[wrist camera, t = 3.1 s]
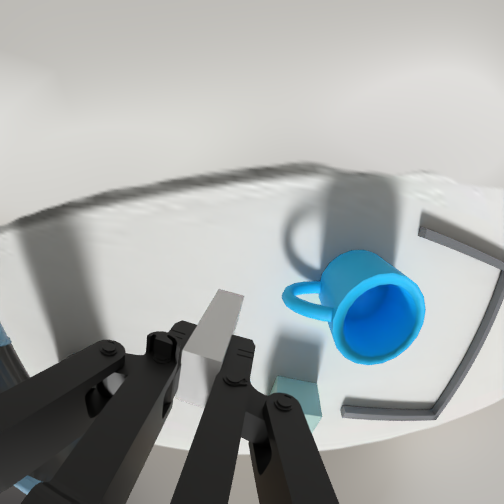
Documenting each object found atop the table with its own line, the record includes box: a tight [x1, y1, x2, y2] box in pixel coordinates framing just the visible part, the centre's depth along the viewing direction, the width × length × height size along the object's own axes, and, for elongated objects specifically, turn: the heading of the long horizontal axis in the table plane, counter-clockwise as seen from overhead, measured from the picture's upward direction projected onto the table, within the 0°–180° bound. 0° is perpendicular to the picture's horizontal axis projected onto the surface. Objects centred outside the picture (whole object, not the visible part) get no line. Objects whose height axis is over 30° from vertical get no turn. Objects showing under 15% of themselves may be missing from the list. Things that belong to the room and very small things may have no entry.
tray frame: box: [341, 227, 504, 421], centre depth 27 cm, size 17×25×2 cm
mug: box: [282, 250, 425, 365], centre depth 24 cm, size 12×8×8 cm
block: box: [270, 376, 322, 433], centre depth 28 cm, size 5×5×6 cm
